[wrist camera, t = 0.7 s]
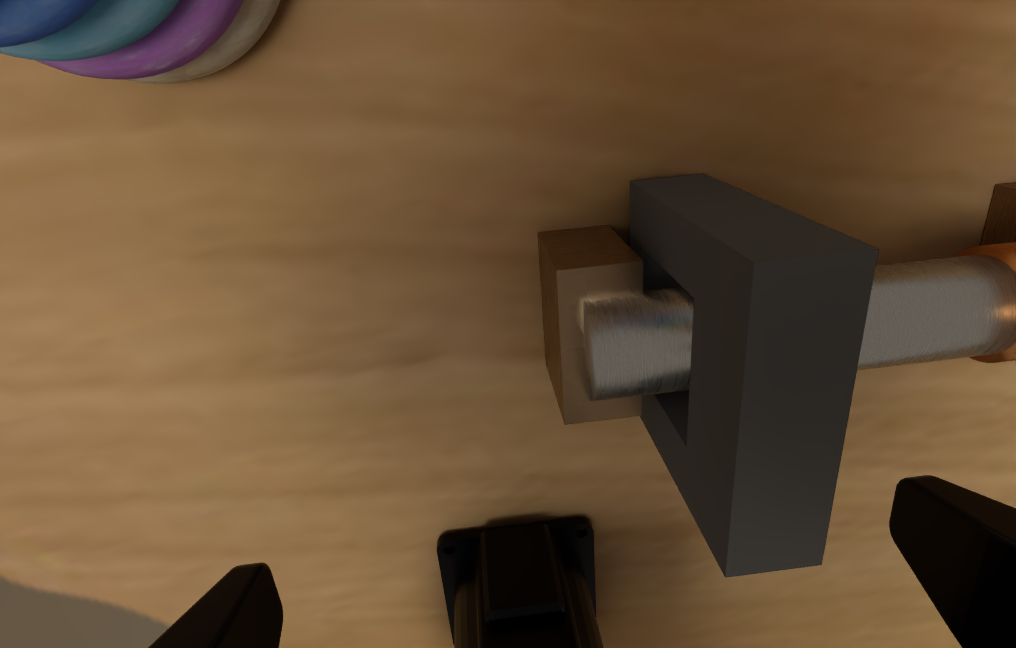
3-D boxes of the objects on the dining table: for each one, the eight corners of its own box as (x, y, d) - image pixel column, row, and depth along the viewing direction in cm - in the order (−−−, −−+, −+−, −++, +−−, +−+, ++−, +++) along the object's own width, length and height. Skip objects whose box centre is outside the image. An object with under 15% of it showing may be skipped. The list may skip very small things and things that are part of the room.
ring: (629, 396, 22) (725, 577, 14) (629, 181, 19) (754, 262, 11) (692, 389, 22) (821, 564, 14) (703, 173, 19) (878, 249, 11)
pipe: (545, 364, 22) (575, 459, 16) (537, 232, 20) (567, 293, 14) (1022, 309, 22) (1195, 384, 17) (1061, 177, 20) (1272, 216, 15)
